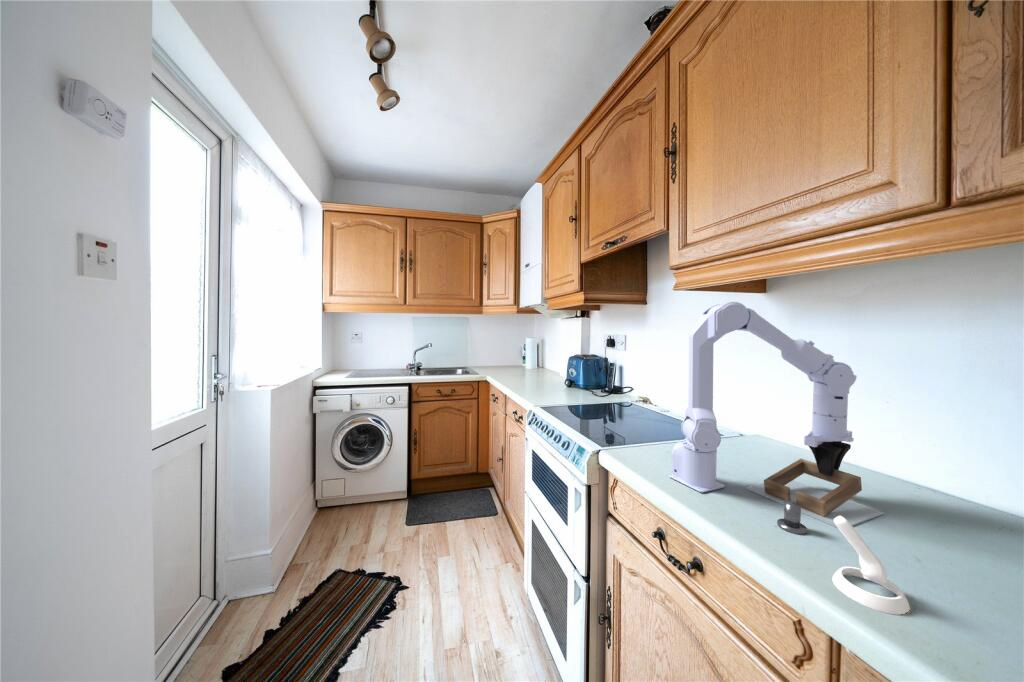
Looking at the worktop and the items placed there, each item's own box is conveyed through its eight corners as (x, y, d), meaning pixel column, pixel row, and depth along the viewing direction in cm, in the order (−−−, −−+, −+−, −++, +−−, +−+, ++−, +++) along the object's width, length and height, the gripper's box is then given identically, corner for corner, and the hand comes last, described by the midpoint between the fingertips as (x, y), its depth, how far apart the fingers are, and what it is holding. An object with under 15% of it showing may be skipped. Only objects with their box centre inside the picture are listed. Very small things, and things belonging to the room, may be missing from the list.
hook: (786, 525, 56) (829, 506, 55) (845, 605, 52) (893, 586, 50) (805, 541, 49) (854, 520, 48) (875, 634, 45) (931, 614, 44)
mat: (745, 488, 81) (745, 487, 81) (785, 478, 86) (785, 477, 86) (842, 529, 64) (842, 528, 64) (884, 514, 70) (884, 512, 70)
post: (771, 523, 66) (772, 500, 66) (786, 519, 68) (786, 496, 67) (798, 536, 62) (799, 512, 62) (812, 531, 64) (813, 507, 63)
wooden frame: (764, 492, 78) (763, 480, 78) (801, 470, 83) (800, 458, 83) (823, 517, 68) (822, 503, 67) (861, 490, 73) (860, 477, 72)
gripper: (833, 421, 71) (831, 486, 71) (870, 415, 76) (868, 475, 77) (794, 414, 77) (792, 473, 78) (831, 408, 83) (829, 464, 83)
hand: (827, 473), depth 77 cm, fingers closed on wooden frame
